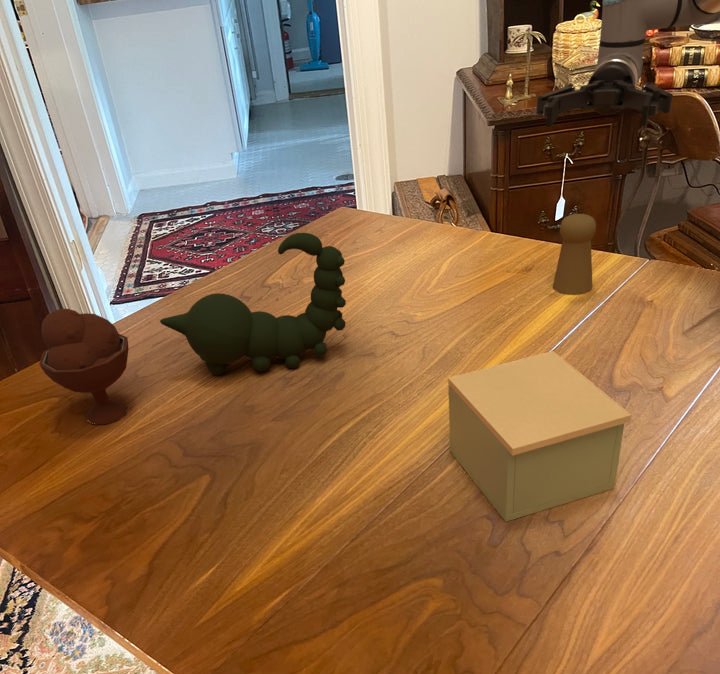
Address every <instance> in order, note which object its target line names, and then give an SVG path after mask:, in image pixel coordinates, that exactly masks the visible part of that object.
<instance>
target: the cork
mask: <svg viewBox="0 0 720 674" xmlns="http://www.w3.org/2000/svg"><path fill="white" fill-rule="evenodd" d="M596 231H597V223H596V220H595V218H594V217H593V216H591V215H589V214H585V213H573V214H569V215H567V216H565V217H564V218H563V219H562V221H561V223H560V226H559V233H560V236H561V238H562V241H561V247H560V251H559V255H558V260H557V265H556V269H555V274H554V279H553V283H552V288H553V290H554V289H555V290H554V291H556V290H557V291H558V292H557V291H556V292H557V293H560V292H562V293H561V294H563V293H566V294H565V295H571V294H575V295H581V294H580V293H582V294H586V293H589V292H590V291H592V289H593V266H592V265H593V262H592V257H593V256H592V238H593V237H594V236H595V233H596ZM585 292H586V293H585Z"/></svg>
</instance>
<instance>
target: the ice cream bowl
mask: <svg viewBox="0 0 720 674" xmlns="http://www.w3.org/2000/svg"><path fill="white" fill-rule="evenodd" d="M41 337H42V341H43V342H44V345H45V346H46V347H47V348H46V349H45V350H44V351H42V354H41V357H40V360H39V364H38V365H39V366H40V368H41V370H42V371H43V373H44V374H45V375H46V376H47V377H48V378H50V380H52V381H53V383H56V384H57V385H59V386H61V387H63V388H64V389H67V390H69V391H72V392H74V393H81V394H88V393H90V394H91V395H92V396H93V400H94V402H95V404H94V405H92V406H91V407H90V408H89V409H88V410H86V415H85V420H86V419H87V420H89V421H90V422H91V423H93V424H94V423H95V424H107V423H109V424H111V423H110V422H112V423H114V422H113V421H115V422H117V421H116V420H118V419H119V420H121V419H122V418H123V417H124V416H126V415H127V414H126V408H127V409H128V406H127V405H126V403H124V402H122V400H121V401H120V400H118V399H110V398H109V395H108V393H107V389H108V388H109V387H111V386H112V385H113V384H114V383H115V382H116V381H118V380H119V379H120V378H121V377H122V375H123V374H124V372H125V370H126V369H127V364H128V356H129V349H130V348H129V339H128V336H125V335H123V334H121V333H119V331H118V330H117V328H116V326H115V325H114V324H113V323H112V322H111V321H110V320H109V319H106V318H104V317H102V316H100V315H98V314H96V313H88V312H87V313H79V312H78V311H76V310H74V309H70V308H58V309H55V310H53V311H51V312H50V313H48V314H47V315H46V316H45V317H44V319H43V320H42V322H41ZM125 414H126V415H125ZM123 415H124V416H123ZM122 416H123V417H122ZM121 417H122V418H121ZM120 418H121V419H120ZM119 420H118V421H119ZM107 425H108V424H107Z"/></svg>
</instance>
